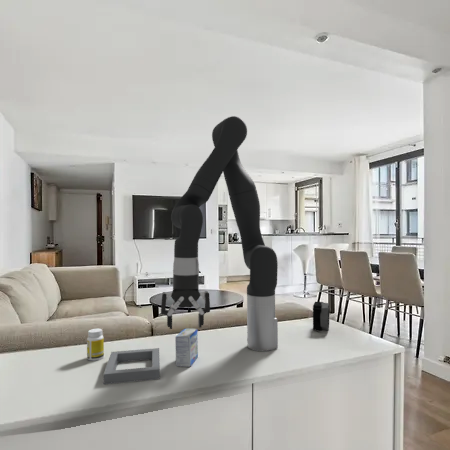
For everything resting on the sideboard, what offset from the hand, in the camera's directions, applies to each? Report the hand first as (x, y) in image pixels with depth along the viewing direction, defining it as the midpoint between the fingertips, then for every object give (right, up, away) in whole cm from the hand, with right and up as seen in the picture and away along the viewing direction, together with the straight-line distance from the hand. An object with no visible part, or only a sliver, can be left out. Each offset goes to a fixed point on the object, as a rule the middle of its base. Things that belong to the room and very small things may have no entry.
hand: (185, 327), depth 101 cm
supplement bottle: (-28, -10, +3) cm, 30 cm away
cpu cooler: (+49, -10, +30) cm, 58 cm away
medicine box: (+1, -10, 0) cm, 10 cm away
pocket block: (-14, -10, -5) cm, 18 cm away
